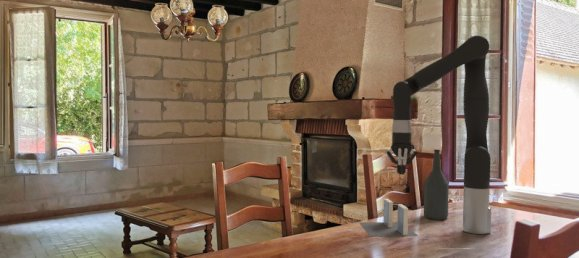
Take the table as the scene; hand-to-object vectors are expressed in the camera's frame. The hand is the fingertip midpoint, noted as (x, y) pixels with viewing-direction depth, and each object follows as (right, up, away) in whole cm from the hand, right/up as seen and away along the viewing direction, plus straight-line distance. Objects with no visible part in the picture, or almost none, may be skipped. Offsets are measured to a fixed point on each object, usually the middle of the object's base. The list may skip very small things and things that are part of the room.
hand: (401, 174), depth 187 cm
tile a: (-5, -21, +1) cm, 21 cm away
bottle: (+19, -21, +17) cm, 33 cm away
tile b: (-2, -21, -11) cm, 24 cm away
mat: (-7, -21, -6) cm, 23 cm away
